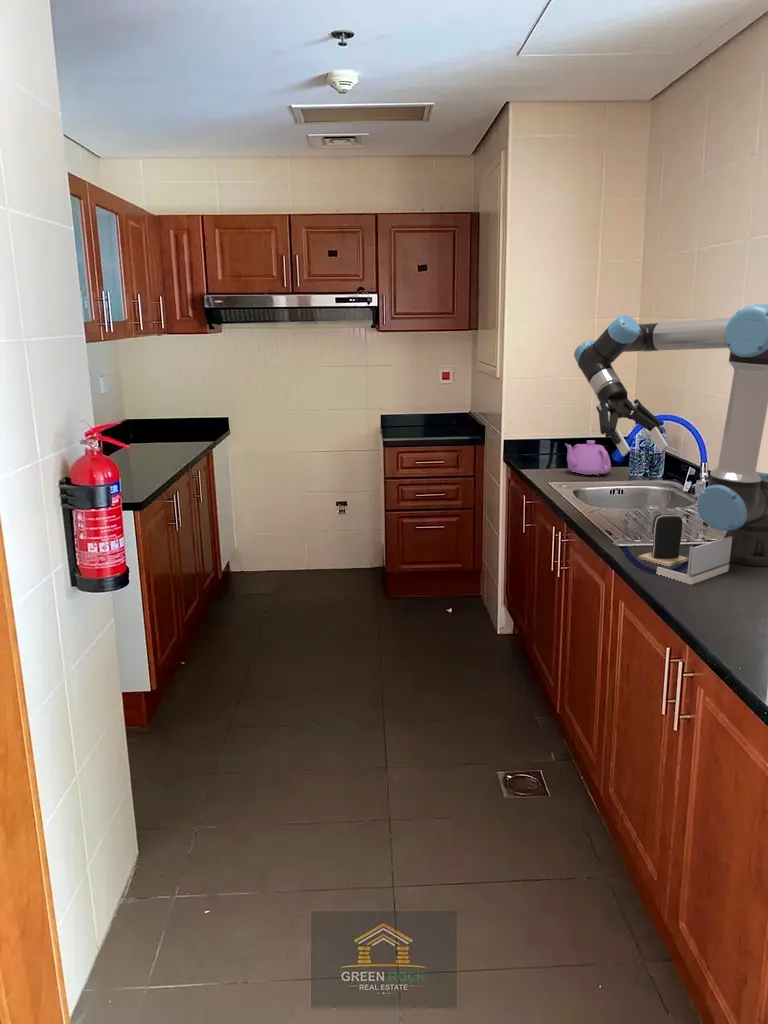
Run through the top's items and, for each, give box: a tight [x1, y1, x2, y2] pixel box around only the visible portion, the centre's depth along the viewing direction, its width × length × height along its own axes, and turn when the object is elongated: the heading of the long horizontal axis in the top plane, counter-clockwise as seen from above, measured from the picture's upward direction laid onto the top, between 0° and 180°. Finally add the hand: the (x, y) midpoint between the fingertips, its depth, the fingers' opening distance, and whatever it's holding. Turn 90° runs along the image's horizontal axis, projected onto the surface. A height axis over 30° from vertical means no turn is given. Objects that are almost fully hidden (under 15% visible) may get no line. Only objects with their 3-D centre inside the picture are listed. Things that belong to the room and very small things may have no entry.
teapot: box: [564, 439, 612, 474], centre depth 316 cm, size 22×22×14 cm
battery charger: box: [651, 513, 683, 558], centre depth 201 cm, size 7×4×11 cm, turn 93°
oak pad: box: [638, 551, 689, 568], centre depth 203 cm, size 9×9×1 cm
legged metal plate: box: [655, 536, 732, 586], centre depth 191 cm, size 17×9×9 cm, turn 128°
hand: (645, 451), depth 204 cm, fingers open, 13 cm apart
